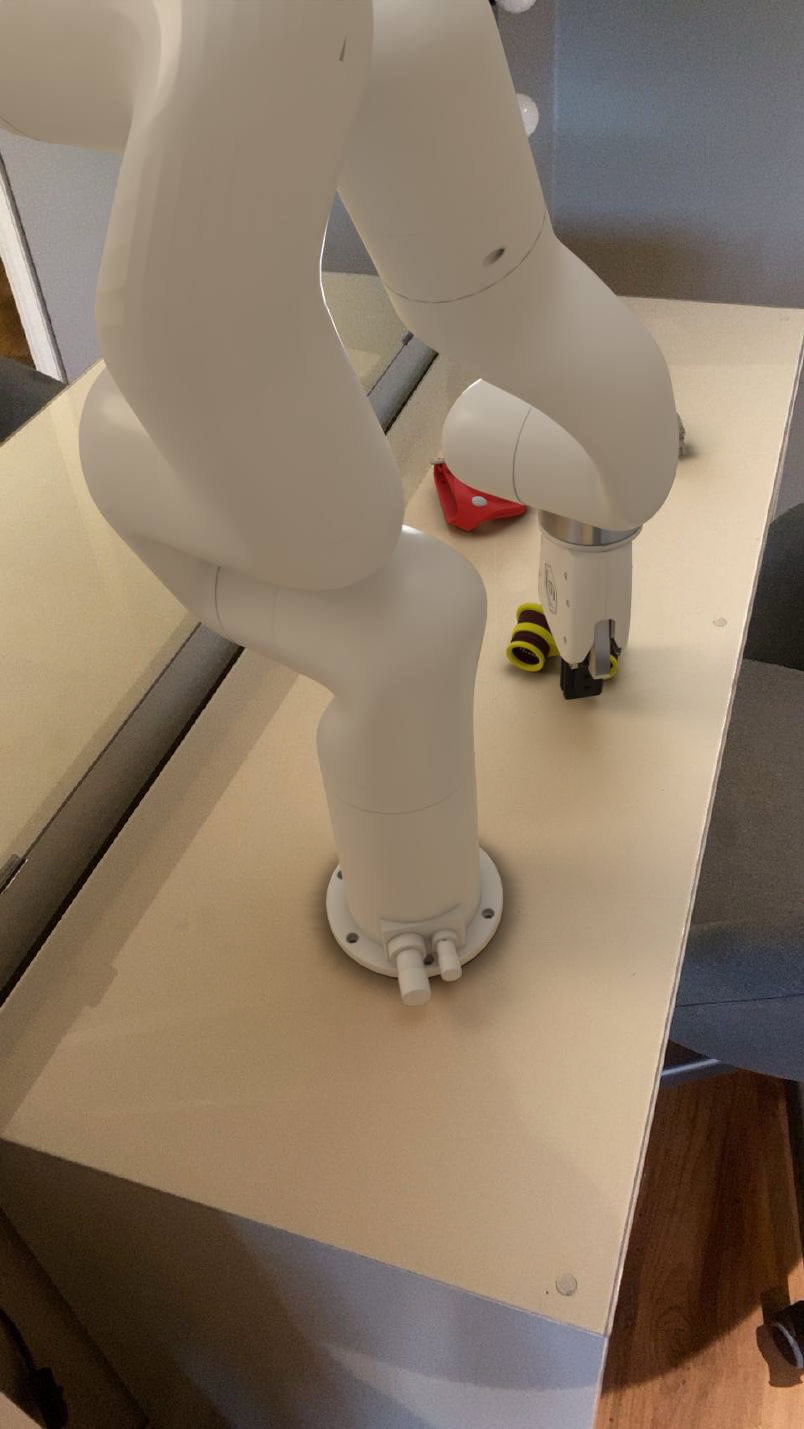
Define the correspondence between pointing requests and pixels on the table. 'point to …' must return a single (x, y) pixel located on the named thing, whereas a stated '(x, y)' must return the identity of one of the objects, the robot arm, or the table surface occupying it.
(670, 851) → the table surface
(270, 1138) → the table surface
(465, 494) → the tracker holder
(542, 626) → the opera glasses
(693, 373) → the table surface
